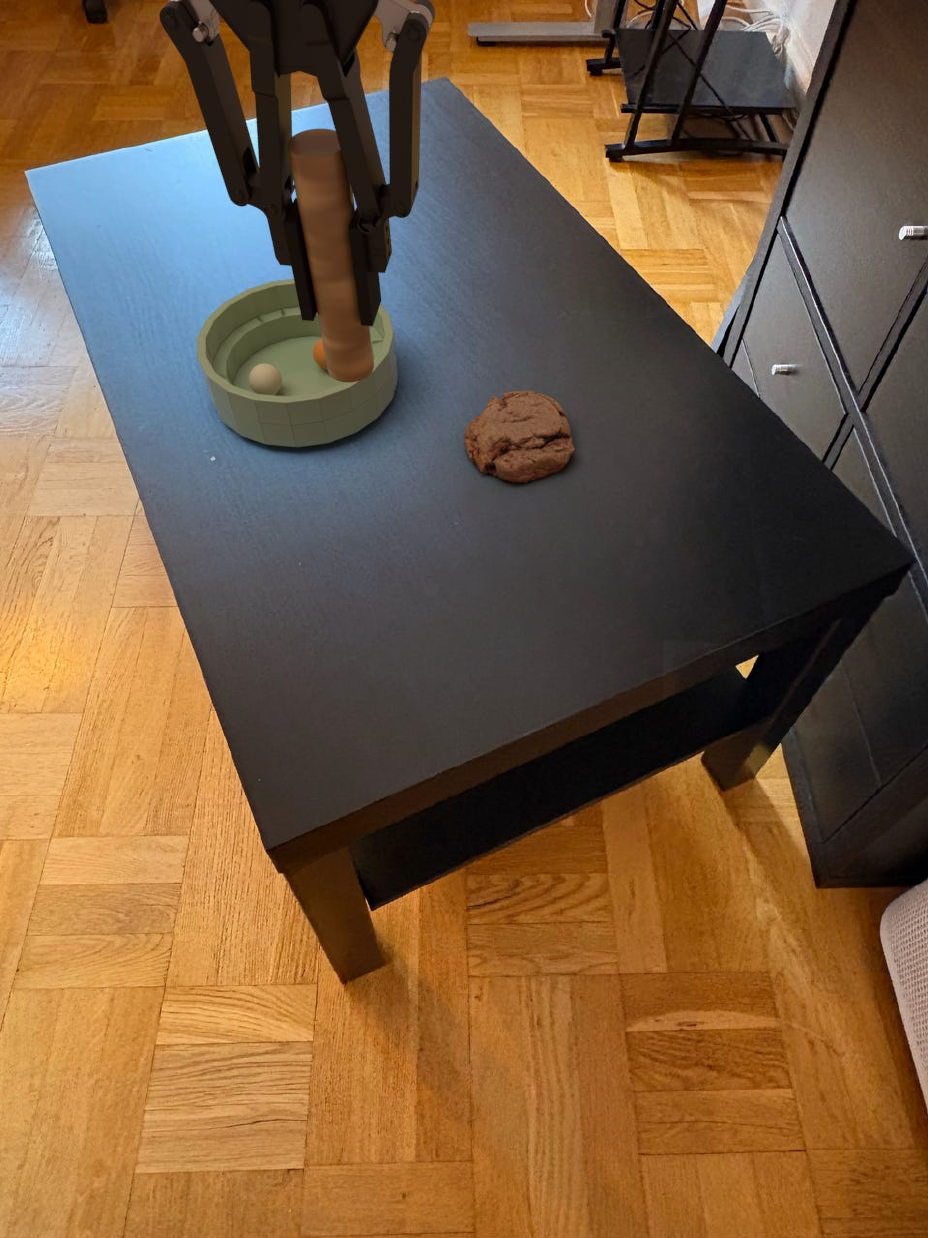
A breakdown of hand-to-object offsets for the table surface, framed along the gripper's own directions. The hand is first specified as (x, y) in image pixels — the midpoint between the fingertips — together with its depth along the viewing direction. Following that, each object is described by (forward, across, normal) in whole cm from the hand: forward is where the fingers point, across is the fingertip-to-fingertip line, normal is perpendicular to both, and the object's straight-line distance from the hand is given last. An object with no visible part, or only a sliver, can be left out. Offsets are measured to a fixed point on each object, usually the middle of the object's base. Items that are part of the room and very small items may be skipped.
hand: (342, 309), depth 54 cm
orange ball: (+18, +8, -18) cm, 27 cm away
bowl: (+21, +10, -16) cm, 28 cm away
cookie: (+21, -11, -11) cm, 26 cm away
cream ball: (+18, +13, -14) cm, 26 cm away
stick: (+5, 0, 0) cm, 5 cm away
